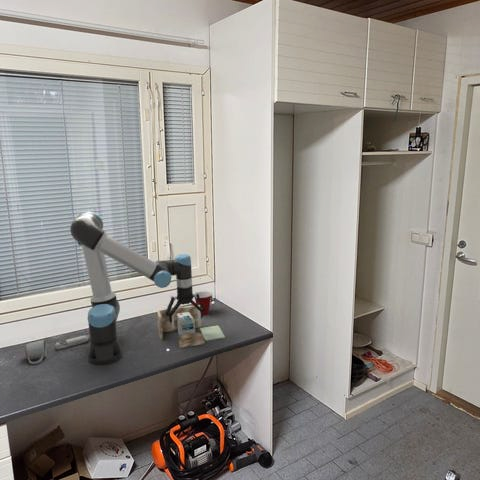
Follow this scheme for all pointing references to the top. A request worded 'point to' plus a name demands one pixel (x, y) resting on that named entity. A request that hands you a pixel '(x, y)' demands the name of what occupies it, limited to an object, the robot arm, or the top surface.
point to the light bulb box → (185, 323)
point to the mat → (212, 333)
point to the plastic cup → (204, 300)
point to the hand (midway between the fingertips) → (186, 325)
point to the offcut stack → (191, 340)
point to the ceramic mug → (35, 351)
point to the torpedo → (72, 342)
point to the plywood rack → (175, 319)
